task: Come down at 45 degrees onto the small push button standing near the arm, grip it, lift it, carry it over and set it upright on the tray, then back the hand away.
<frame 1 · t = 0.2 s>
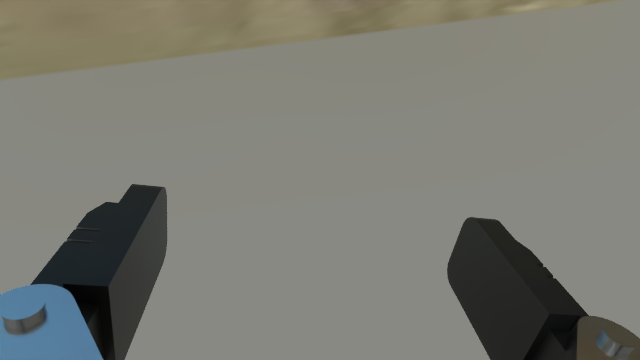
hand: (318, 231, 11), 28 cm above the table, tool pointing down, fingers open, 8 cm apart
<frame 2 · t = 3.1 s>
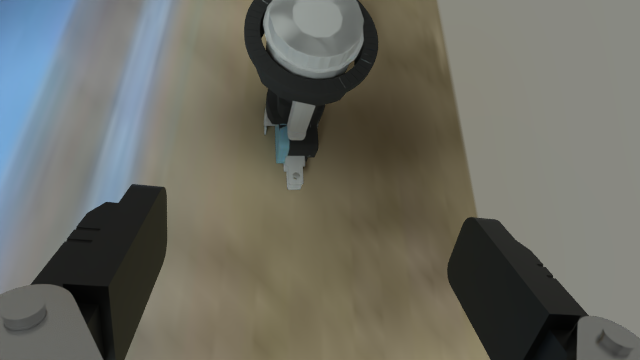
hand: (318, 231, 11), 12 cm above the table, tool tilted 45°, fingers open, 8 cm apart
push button: (288, 139, 24), on the table
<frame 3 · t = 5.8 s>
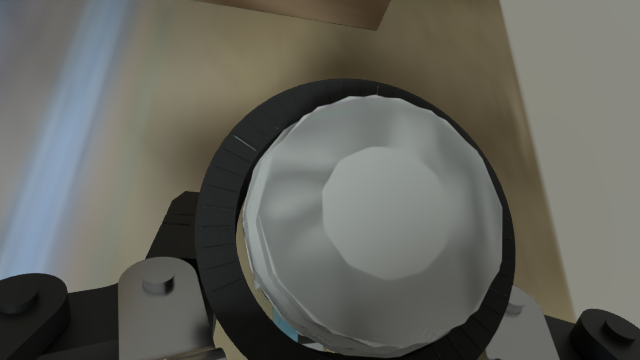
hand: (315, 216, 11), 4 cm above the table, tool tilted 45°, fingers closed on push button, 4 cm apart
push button: (294, 289, 15), on the table, touching gripper
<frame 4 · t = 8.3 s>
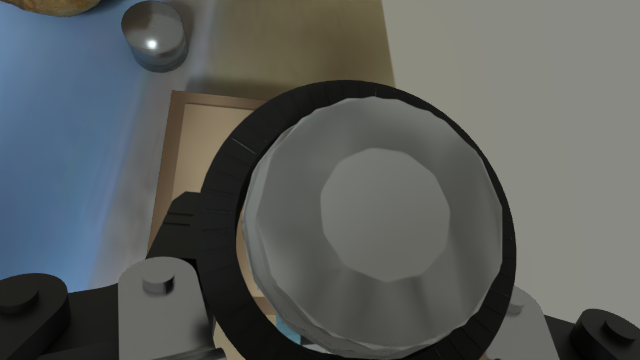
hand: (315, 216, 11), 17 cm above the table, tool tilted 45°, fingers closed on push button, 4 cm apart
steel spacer: (160, 50, 31), on the table
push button: (297, 290, 15), point 13 cm above the table, touching gripper
tray: (254, 208, 28), on the table
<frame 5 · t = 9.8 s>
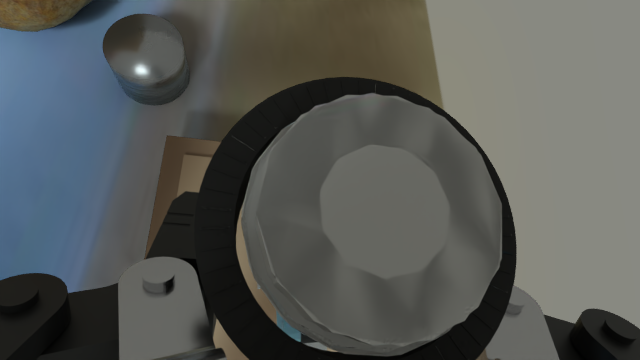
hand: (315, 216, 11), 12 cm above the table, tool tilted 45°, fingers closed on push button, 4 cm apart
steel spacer: (154, 75, 24), on the table
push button: (297, 289, 15), point 7 cm above the table, touching gripper
tray: (270, 289, 22), on the table
when the fingers open (8 cm above the table, at t = 10.8 s): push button moves 1 cm, resting on tray.
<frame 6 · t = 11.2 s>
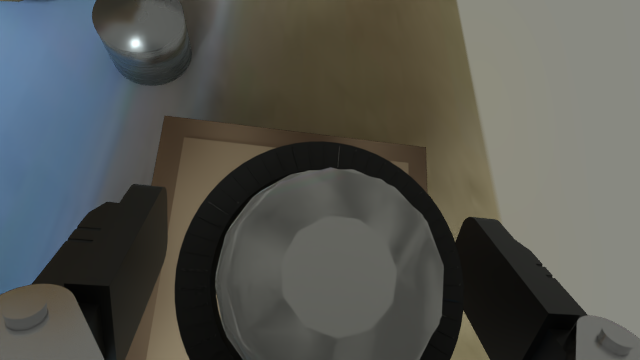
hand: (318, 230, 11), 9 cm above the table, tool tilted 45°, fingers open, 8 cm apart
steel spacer: (152, 53, 22), on the table
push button: (284, 307, 16), point 3 cm above the table, touching tray
tray: (283, 293, 19), on the table
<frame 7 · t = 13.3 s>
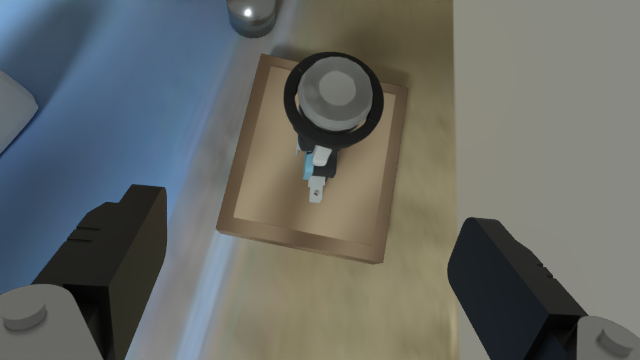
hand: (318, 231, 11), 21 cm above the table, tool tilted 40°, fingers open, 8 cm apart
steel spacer: (252, 18, 36), on the table
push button: (315, 160, 30), point 3 cm above the table, touching tray
tray: (314, 164, 33), on the table
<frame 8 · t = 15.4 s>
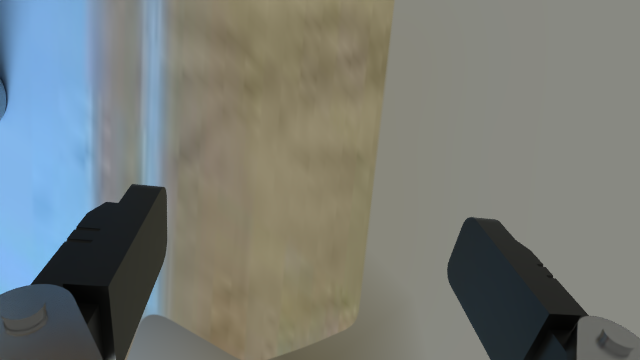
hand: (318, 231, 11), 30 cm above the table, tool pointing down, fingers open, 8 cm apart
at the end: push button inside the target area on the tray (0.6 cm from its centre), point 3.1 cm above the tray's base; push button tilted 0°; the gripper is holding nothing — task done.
